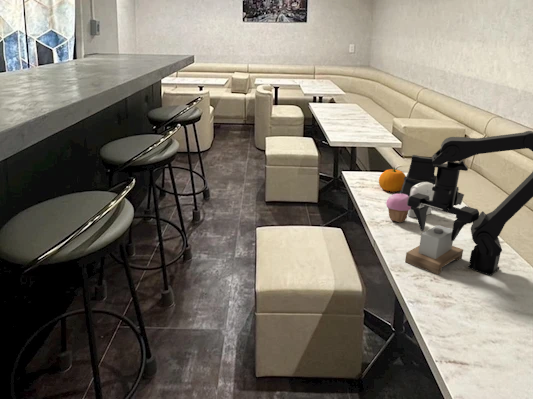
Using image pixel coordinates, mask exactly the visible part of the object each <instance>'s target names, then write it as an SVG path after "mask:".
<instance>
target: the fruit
mask: <svg viewBox="0 0 533 399" xmlns="http://www.w3.org/2000/svg"><path fill="white" fill-rule="evenodd" d="M406 176H407V175H405V173H404V172H403V171H402V170H399V169H396V168H395V166H393V169H392V168H390V169H385V170H384V171H383V172H382V173H381V174H380V175H379V176H378V177H379V178H378V184H379V187H380V188H381V189H382V190H384V191H386V192H389V191H390V193H398V192H399V193H400V190H402V186H403V183H404V177H406Z"/></svg>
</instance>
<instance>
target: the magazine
mask: <svg viewBox="0 0 533 399" xmlns="http://www.w3.org/2000/svg"><path fill="white" fill-rule="evenodd" d="M408 175H409V171H408V172H407V174H406V175H405V176H406V177H404V183H403V186H402V190H400V191H399V194H406V195H408V196H409V197H410V190H411V188H412V187H413V186H414V185H416V184H418V183H422V182H428V181H420V180H411V179H408ZM435 181H436V174H434V178H431V180H429V183H432V184H433V185H434V186H435Z"/></svg>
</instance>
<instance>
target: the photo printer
mask: <svg viewBox="0 0 533 399" xmlns="http://www.w3.org/2000/svg"><path fill="white" fill-rule="evenodd" d="M434 186H435V185H433V184H432V183H429V182H422V183H418V184H416V185H414V186H413V187H412V188H411V190H410V196H412V195H415V194H417V193H420V194H423V195H427V196H429V198H430V199H429V200H433V193H434V191H433V190H432V187H434ZM432 210H433V208H431V207H429V208H428V210H427V213H426V216H428V215H430V214H431V213H432ZM407 217H410V218H417V217H416V215H415V213H414V211H413V210H412V209H410V210H408V214H407Z"/></svg>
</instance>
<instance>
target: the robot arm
mask: <svg viewBox="0 0 533 399" xmlns="http://www.w3.org/2000/svg"><path fill="white" fill-rule="evenodd" d="M524 149H528V150H529V151H532V152H533V130H527V131H522V132H517V133H509V134H502V135H501V134H500V135H494V136H493V135H492V136H485V137H478V138H477V137H476V138H475V137H466V136H465V137H464V136H449V137H447V138H445V139H444V140H443V141H442V142H441V144H440V148H439V149H438V150H437V151H436V152H435V153H434V154H433V155H432V156H431V157H428V156H420V155H417V154H412V155H411V160H410V164H409V168H408V172H409V175H408V179H411V180H420V181H428V182H429V180H431V178H434V175H435V176H436V181H435V185H434V187H432V190H433V191H434V193H433V200H429V199H430V198H429V196H427V195H423V194H420V193H417V194H415V195H412V196H410V197H409V198H408V201H407V205H408V206H411V209H412V210H413V211H414V213H415V215H416V217H415V218H416V219H417V223H418V225H419V228H420V231H421V232H425V231H424V230H425V227H426V222H427V215H426V213H427V210H428V208H429V207H431V208H432V209H435V210H439V211H441V212H445V213H448V214H453V215H455V218H456V219H455V220H454V221H453V226H452V229H453V230H452V236H451V241H453V242H454V241H455V240H456V238H457V237H458V234H459V233H460V232H461V230H462V228H464V226H466V225H468V224H471V226H470V232H471V233H470V234H471V238H472V241H473V243H474V244H475V245H474V246H473V249H472V250H471V251H470V256H469V262H468V263H469V265H468V266H467V268H468V269H470V270H474V271H477V272H479V273H482V274H485V275H488V276H492V275H494V274H495V273H496V272H497V271H499V270H500V266H499V262H500V257H501V254H502V251H503V249H502V246H501V242H500V239H499V236H500V235H501V233H502V231H503V229H504V227H505V225H506V224H507V222H508V221H510V220H511V219H512V218H513V217H514V215H516V214H517V213H518V212H519V211H520V210H521V209H522V208H523V207H524V206H525V205H526V204H527V203H529V201H530V200H531V199H532V198H533V171H532V172H531V173H530V174H529V175H528V176H527V177H526V178H525V179H524V180H523V181H522V182H521V183H520V184H519V185H518V186H517V187H516V188H515V189H514V190H512V191H511V193H510V194H509V195H508V196H507V197H506V198H505V199H504V200H502V202H501V203H500V204H498V206H497V207H496V208H495V209H494V210H492V211H491V212H489V213H485V212H484V211H481V212H479V209H478V208H474V207H471V206H467V205H465V206H463V207H460V208H459V207H455V206H458V205H462V203H463V199H464V196H465V194H463V193H462V192H459V190H460V189H459V186H458V182H459V178H460V177H459V176H460V172H461V171H463V172H464V171H465V172H466V171H467V172H468V170H469V168H468V165H467V164H466V163H465V161H464V160H466V159H469V158H472V157H474V156H477V155H482V154H490V153H498V152H499V153H500V152H507V151H515V150H516V151H518V150H524ZM436 168H437V170H436ZM435 170H436V172H435ZM435 173H436V174H435Z"/></svg>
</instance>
